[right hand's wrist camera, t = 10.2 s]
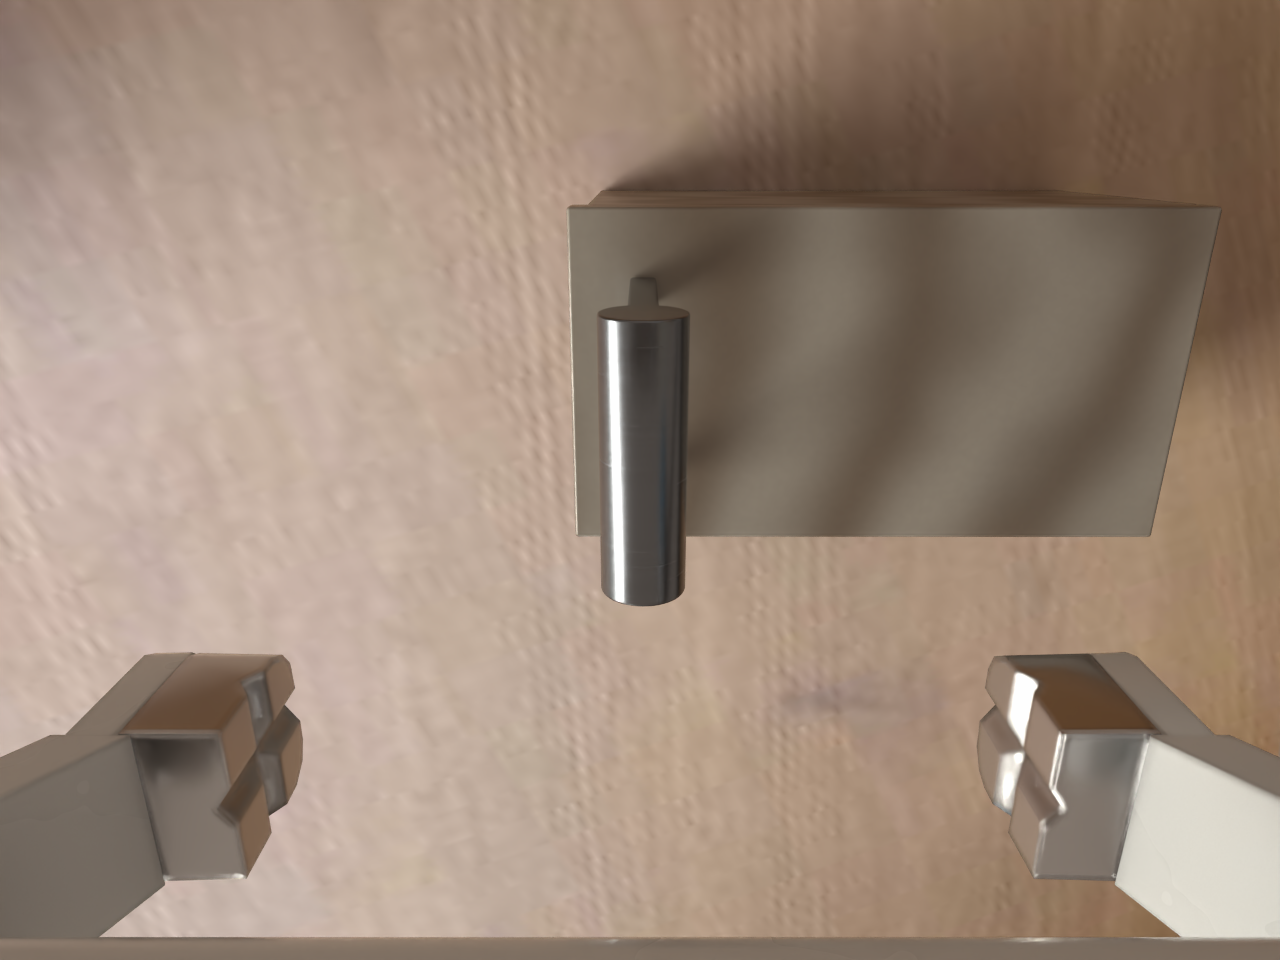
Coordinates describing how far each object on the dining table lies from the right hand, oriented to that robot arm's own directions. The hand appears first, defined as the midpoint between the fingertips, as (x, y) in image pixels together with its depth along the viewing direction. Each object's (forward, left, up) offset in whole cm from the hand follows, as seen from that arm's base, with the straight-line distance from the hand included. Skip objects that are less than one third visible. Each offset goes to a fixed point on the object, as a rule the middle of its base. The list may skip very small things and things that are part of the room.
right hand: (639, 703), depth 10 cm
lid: (+4, +6, -16) cm, 17 cm away
